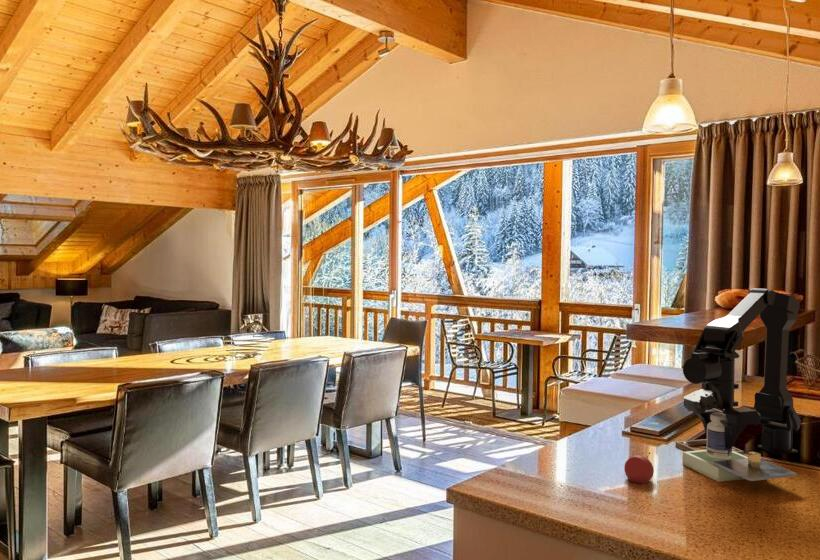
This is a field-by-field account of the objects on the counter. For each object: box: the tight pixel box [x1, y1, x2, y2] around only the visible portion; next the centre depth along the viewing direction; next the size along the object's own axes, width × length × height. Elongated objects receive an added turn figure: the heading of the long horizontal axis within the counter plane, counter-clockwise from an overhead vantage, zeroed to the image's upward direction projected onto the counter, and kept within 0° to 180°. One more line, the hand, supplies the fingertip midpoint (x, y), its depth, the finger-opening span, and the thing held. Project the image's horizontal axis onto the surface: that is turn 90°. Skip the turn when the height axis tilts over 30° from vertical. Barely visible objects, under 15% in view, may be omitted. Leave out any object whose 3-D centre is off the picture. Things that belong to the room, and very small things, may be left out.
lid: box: [713, 451, 798, 482], centre depth 141 cm, size 12×11×4 cm
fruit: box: [623, 452, 655, 484], centre depth 145 cm, size 6×6×8 cm
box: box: [682, 449, 748, 483], centre depth 150 cm, size 12×12×3 cm
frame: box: [675, 438, 745, 456], centre depth 164 cm, size 11×11×1 cm
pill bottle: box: [705, 413, 732, 459], centre depth 151 cm, size 5×5×10 cm
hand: (719, 445), depth 151 cm, fingers closed on pill bottle, 5 cm apart
